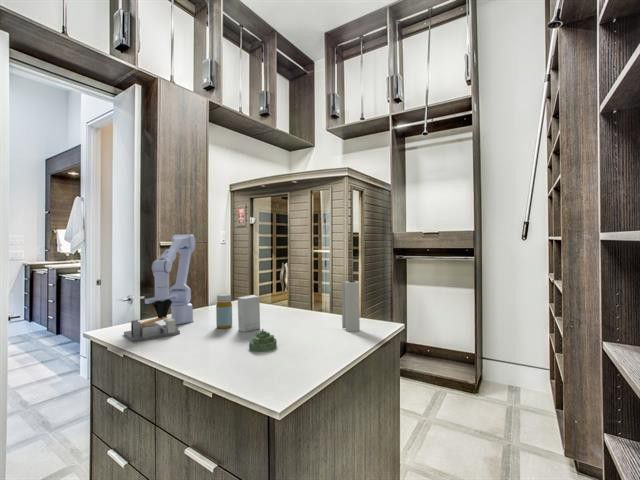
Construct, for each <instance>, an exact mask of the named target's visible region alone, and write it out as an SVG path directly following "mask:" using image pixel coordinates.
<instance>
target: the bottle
mask: <svg viewBox="0 0 640 480" xmlns="http://www.w3.org/2000/svg"><path fill="white" fill-rule="evenodd" d="M216 297H217V298H216V306H215V310H216V318H215V319H216V328H217V329H222V330H223V329H230V328H232V326H233V303H232V294H231V293H220V294H217V296H216Z"/></svg>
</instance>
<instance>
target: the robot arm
mask: <svg viewBox="0 0 640 480" xmlns="http://www.w3.org/2000/svg"><path fill="white" fill-rule="evenodd" d="M171 238H172V239H171V245H170V246H169V249H165V250H164V251H163V252H162V254H161V255H160V256H159V258H158V259H155V260H154V261H153V262H152V264H151V271H152V275H153V277H154V296H152V297H149V298H144V304H146V305H149V304H151V305H152V306H153V308H154V310H155V313H156V316H157V318H162V317H167V318H168V312H169V309H170V308H171V311H170V312H171V313H170V314H171V318H170V319H174V320H175V325H181V324H188V323H193V322H194V316H193V315H194V307H193V304H192V303H191V300H192V289H191V288H190V287H189V286H188V285H187V282H188V275H189V269H190V263H191V258H192V257H191V256H192V254H193V252H195V247H196V237H195V236H194V234H193V233H191V234H174V235H173V236H172V237H171ZM177 253H179V255H180V256H179V262H178V267H177V274H176V279H175V284H173V285H172V286H170V272H171V271H172V266H173V263H174V261H175V260H176V259H177Z"/></svg>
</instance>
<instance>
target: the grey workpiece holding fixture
mask: <svg viewBox="0 0 640 480" xmlns="http://www.w3.org/2000/svg"><path fill="white" fill-rule="evenodd" d="M140 323H141V321H139V320H138V319H134V320H131V321H130V330H126V331H123V335H124V336H125V338H127V339H128V340H129V341H130V342H131V343H138V342H144V341H148V340H154V339H159V338H160V339H161V338H165V337H171V336H174V335H176V336H177V335H180V334H181V330H179V327H178V326H176V332H172V333H167V329H166V324H162V325H161V324H159V323H158V322H157V321H156V322H153V323H149V324H146V325H142V326H140Z"/></svg>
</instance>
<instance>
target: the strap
mask: <svg viewBox="0 0 640 480" xmlns="http://www.w3.org/2000/svg"><path fill="white" fill-rule="evenodd" d="M164 319H168V316H167V317H162V318H158V317H156V318H153V319H150V320H146V321H143V322H140V326H142V325H146V324H149V323H153V322H156V323H157V322H159V321H162V320H163V321H164Z"/></svg>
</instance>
